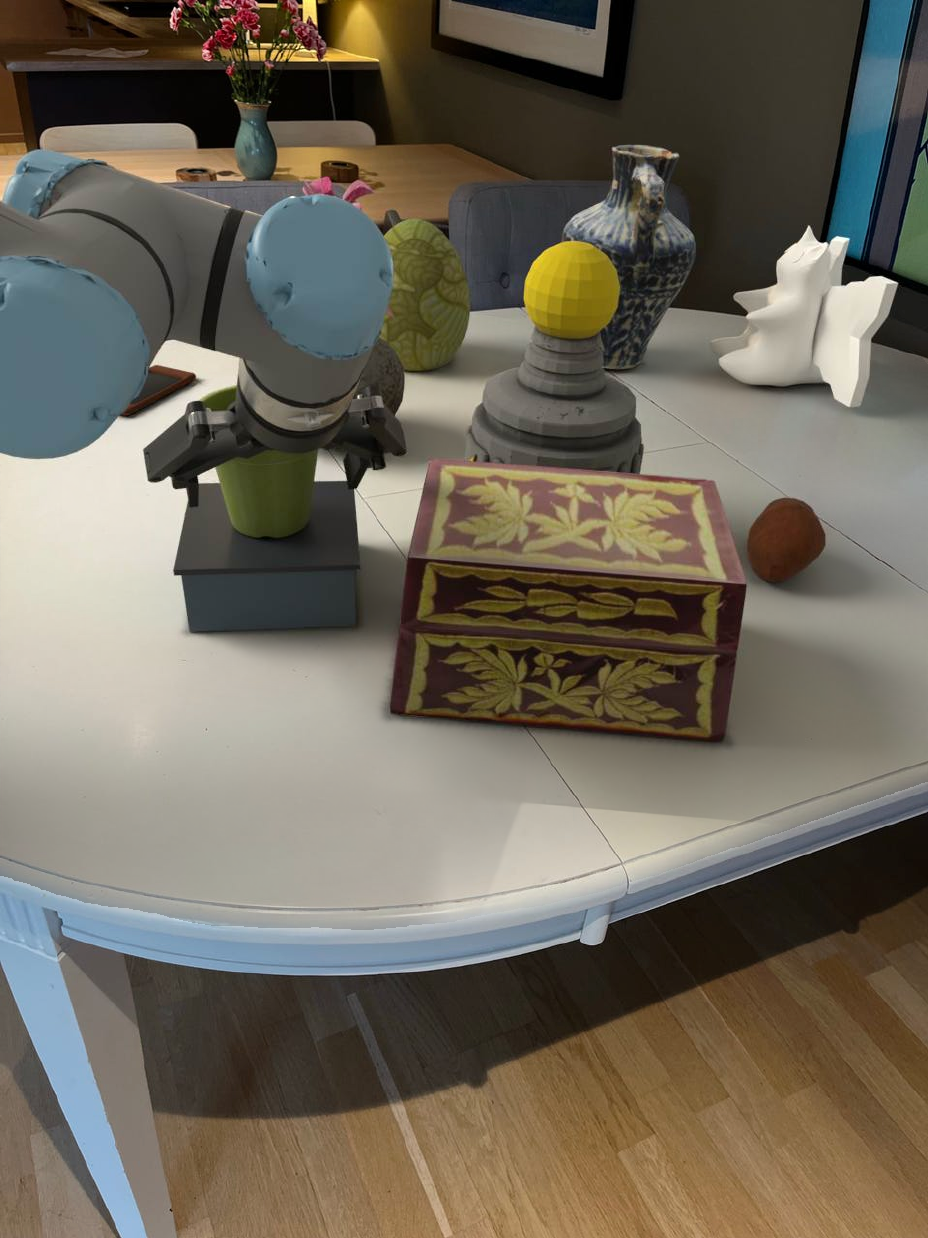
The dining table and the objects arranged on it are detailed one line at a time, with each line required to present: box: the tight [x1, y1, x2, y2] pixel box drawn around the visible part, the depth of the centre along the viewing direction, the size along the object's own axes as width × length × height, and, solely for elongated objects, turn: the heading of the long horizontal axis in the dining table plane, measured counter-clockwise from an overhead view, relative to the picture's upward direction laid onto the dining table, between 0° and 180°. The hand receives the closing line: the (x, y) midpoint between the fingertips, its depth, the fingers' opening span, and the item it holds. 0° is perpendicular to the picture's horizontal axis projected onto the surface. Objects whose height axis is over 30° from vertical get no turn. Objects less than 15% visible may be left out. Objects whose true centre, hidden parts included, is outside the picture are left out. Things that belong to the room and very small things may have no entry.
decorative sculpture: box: [379, 218, 471, 372], centre depth 139 cm, size 16×16×20 cm
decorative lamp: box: [464, 241, 645, 474], centre depth 97 cm, size 19×19×30 cm
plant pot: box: [197, 384, 319, 538], centre depth 86 cm, size 12×12×11 cm
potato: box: [746, 497, 827, 583], centre depth 98 cm, size 8×12×8 cm, turn 165°
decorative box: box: [389, 458, 748, 742], centre depth 81 cm, size 28×19×15 cm
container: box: [172, 480, 362, 633], centre depth 91 cm, size 16×16×7 cm
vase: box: [301, 176, 406, 421], centre depth 113 cm, size 17×17×30 cm
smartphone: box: [120, 364, 197, 416], centre depth 129 cm, size 7×1×15 cm
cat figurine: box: [709, 225, 899, 408], centre depth 139 cm, size 25×21×21 cm
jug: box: [561, 144, 697, 370], centre depth 140 cm, size 21×19×30 cm
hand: (272, 483), depth 82 cm, fingers open, 13 cm apart
